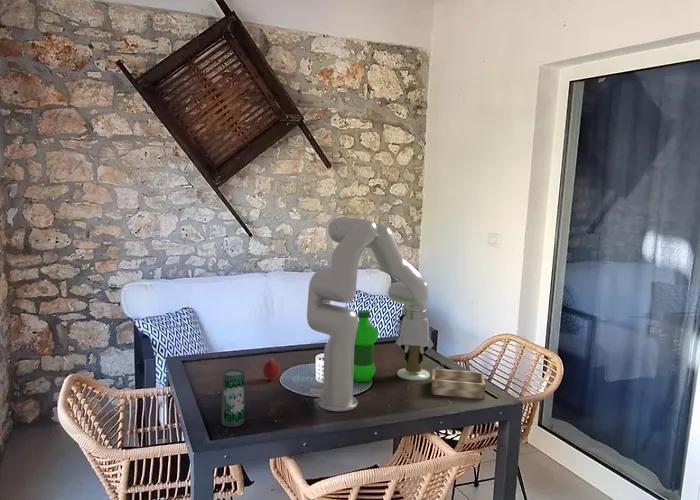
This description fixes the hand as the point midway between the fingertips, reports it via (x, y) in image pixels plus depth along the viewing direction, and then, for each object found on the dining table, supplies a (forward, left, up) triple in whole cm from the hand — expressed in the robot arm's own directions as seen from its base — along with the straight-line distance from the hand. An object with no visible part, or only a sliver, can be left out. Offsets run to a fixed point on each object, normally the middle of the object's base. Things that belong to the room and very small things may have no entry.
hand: (413, 362), depth 215 cm
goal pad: (0, 0, -5) cm, 5 cm away
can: (-49, -56, -5) cm, 74 cm away
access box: (+16, -12, -5) cm, 21 cm away
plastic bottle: (-18, -10, -5) cm, 21 cm away
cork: (0, 0, -3) cm, 3 cm away
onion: (-49, -19, -5) cm, 53 cm away
